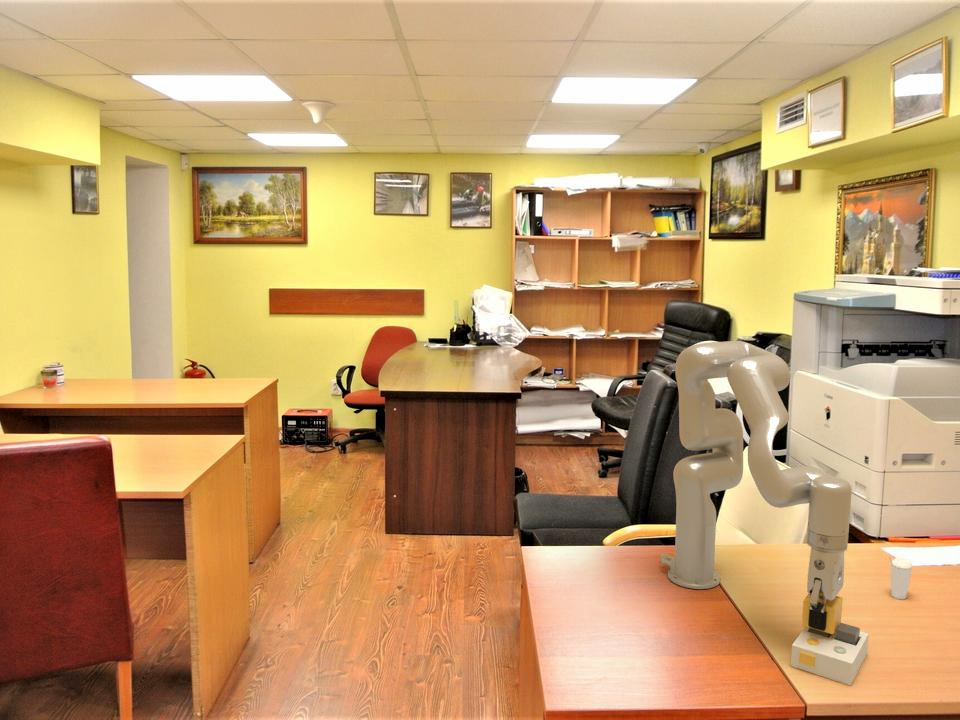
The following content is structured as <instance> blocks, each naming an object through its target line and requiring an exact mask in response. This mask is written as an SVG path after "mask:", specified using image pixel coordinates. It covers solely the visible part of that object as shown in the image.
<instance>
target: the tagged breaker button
mask: <svg viewBox="0 0 960 720" xmlns="http://www.w3.org/2000/svg"><path fill="white" fill-rule="evenodd" d="M809 632H811V633H815V634H818V635H821V636H825V637H828V638H830V636H831V634H830V633H826V632H823V631H820V630H816V629H813V628H810V629H809Z"/></svg>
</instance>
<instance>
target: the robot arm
mask: <svg viewBox="0 0 960 720" xmlns="http://www.w3.org/2000/svg"><path fill="white" fill-rule="evenodd" d="M674 366H675V368H674V369H675V370H674V373H675V380H676V383H677V389H678V417H679V418H678V419H679V420H678V423H679V424H678V429H679V431H678V432H679V440H680V443H681V445H682V446H683V447H684V448H685V449H687V450H688V451H694V452H695V451H696V452H697V451H705V450H712V452H708V453H700V454H695V455H690V456H686V457H684V458H682V459H681V460H679V461H678V462H677V463H676V464H675V466H674V469H673V475H672V476H673V477H672V478H673V483H674V488H675V499H676V501H675V502H676V505H675V506H676V509H675V510H676V511H675V514H676V516H675V540H674V541H675V545H674V547H675V548H674V554H673V555H670V554H668V553H664V552H662V553H660V557H659V559H660V564H661V565H665V566H668V567H669V569H668V570H667V577H668V579H669V580H670V581H671V582H672V583H674V584H675V585H678V586H679V587H683V588H687V589H688V588H689V589H694V590H708V589H711V588H715V587H717V586H718V585H719V584H720V583H721V574H719V572H717V571H716V570H715V555H716V554H715V553H716V533H717V510H716V507H715V504H714V503H713V501H712V499H711V494H713V493H716V492H721V491H727V490H731V489H733V488H735V487H737V486H738V485H739V484H740V483H741V481H742V479H743V474H744V431H743V430H744V429H743V425H742V422H741V420H740V418H739V417H738V415H737V414H736V413H735V412H734V411H733V410H731V409H730V408H729V409H728V408H723V407H722V408H721V407H720V408H716V395H715V390H714V388H713V386H712V384H711V383H710V381H709V380H710V379H711V380H712V379H722V378H723V379H725V378H727V382H728V384H729V386H730V389H731V391H732V393H733V395H734V396H735V400H736V401H737V404H738V406H739V407H740V410H741V412H742V414H743V416H744V419H745V421H746V423H747V425H748V428H749V430H750V436H749V440H748V445H747V465H748V469H749V472H750V474H751V476H752V479H753V482H754V484H755V486H756V487H757V490H758V492H759V494H760V495H761V496H762V499H764V501H766V502H767V504H769V505H770V506H771V507H773V508H778V509H784V508H789V507H790V508H791V507H793V506H797V505H802V504H803V505H805V504H808V516H807V528H806V529H807V531H806V545H807V546H809V547H810V554H809V562H808V570H807V571H808V574H807V587H806V588H807V589H806V591H807V595H808V594H809V595H811V599H810V608H809V622H808V626H809V627H811V628H814V629H818V630H821V631H825V629H826V618H827V612H825V609H826V603H827V599H829V600H830V601H831V600H833V599H834V598H835V597H836V596H838V594H839V593H840V591H841V590H842V589H843V586H844V581H845V579H844V577H845V576H844V575H845V552H846V551H848V548H849V547H848V546H849V545H848V543H849V532H850V517H851V507H852V505H851V504H852V494H853V493H852V489H853V488H852V486H851V483H850V482H848V481H847V480H846V479H844V478H841V477H838V476H832V475H829V474H828V473H826V472H824V471H823V470H821V469H819V468H817V467H815V466H811V465H803V466H797V467H790V468H786V469H781V468H780V467H779V465H778V462H777V460H776V458H775V455H774V454H775V453H774V450H773V443H774V439H775V436H776V434H777V433H778V432H779V431H780V430H781V429H783V428H784V427H785V426H786V425H787V423H788V422H789V420H790V414H789V413H788V410H787V408H786V406H785V405H784V402H783V400H782V399H781V396H780V395H779V392H780V391H783V390H785V389H786V388H787V387H788V386H789V384H790V382H791V369H790V367H789V366H788V363H787V362H786V361H785V360H784V359H782V357H780V356H778V355H777V354H775V353H774V352H770V351H769V350H766V349H764V348H761V347H760V346H759V347H758V346H756V345H753V344H752V343H748V342H745V341H741V340H728V341H714V342H713V341H711V342H704V343H698V344H693V345H691V346H689V347H686V348H684V349H683V350H681V352H680V353H679V355H678V357H677V359H676V362H675V365H674ZM820 593H824V596H821V595H820ZM819 599H823V602H822V604H821V602H819Z"/></svg>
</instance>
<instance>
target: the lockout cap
mask: <svg viewBox="0 0 960 720" xmlns="http://www.w3.org/2000/svg"><path fill="white" fill-rule="evenodd" d="M820 595H821V596H824V593H820ZM810 599H811V595H809V594H808V593H807V595H806V596H805V597H804V599H803V601H802V603H803V604H802V605H803V606H802V616H801V617H802V618H801V626H803V627H805V626H806V627H809V626H808V622H809V608H810ZM843 599H844V598H843V597H842V596H838V595H837V596H836V597H835V598H834V599H833V600H831V601H830V600H829V599H827V603H826V609H825V612H827V618H826V629H825V631H823V632H826V633H830V634H834V633H835V631H836V629H837V628H838V626H839V624H840V623H842V612H843ZM819 602H821V604H822V602H823V599H819ZM809 628H811V627H809ZM813 629H814V628H813ZM816 630H818V629H816ZM820 631H821V630H820Z"/></svg>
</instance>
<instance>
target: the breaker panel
mask: <svg viewBox="0 0 960 720" xmlns="http://www.w3.org/2000/svg"><path fill="white" fill-rule="evenodd" d="M809 629H810V628H809V627H806V626H804V627H803V629H802V631H801V632H800V633H799V635H798V636H797V638H796V639H795V641H793V643H792V645H791V656H790V659H791V660H790V667H793V668H796V669H799V670H802V671H805V672H807V673H810V674H814V675H817V676H820V677H823V678H826V679H829V680H832V681H836V682H838V683H842V684H845V685H848V686H850V687H851V686H852V684H853V682H854V680H855V679H856V676H857V675H858V673H859V670H860V668H861V666H862V665H863V663H864V661H865V659H866V657H867V656H868V647H869V646H868V645H869V635H870V634H869V633H868V632H865V631H861V630H860V634H859V642H858V644H857V645H856V646H855V645H852V644H849V643H845V642H842V641H838V640H835V639H836V631H835V633H834V634H831V636H830V638H828V637H825V636H821V635H818V634H815V633H811V632H809Z"/></svg>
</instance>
